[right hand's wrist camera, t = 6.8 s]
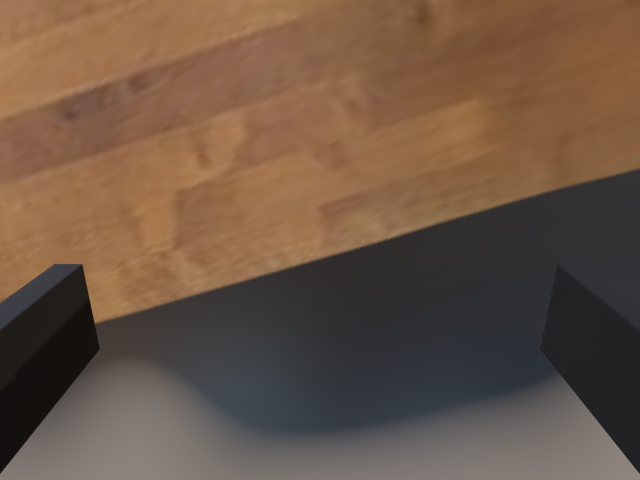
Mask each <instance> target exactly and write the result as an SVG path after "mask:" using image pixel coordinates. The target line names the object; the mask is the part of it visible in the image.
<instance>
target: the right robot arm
mask: <svg viewBox="0 0 640 480" xmlns="http://www.w3.org/2000/svg"><path fill="white" fill-rule="evenodd" d="M99 349H100V348H99V343H98V338H97V334H96V329H95V324H94V319H93V314H92V309H91V304H90V300H89V295H88V290H87V285H86V280H85V275H84V270H83V266H82V264H54V265H53V266H51V267H50V268H49V269H47V270H46V271H44V272H43V273H42V274H40V275H39V276H37V277H36V278H35V279H33V280H32V281H31V282H29V283H28V284H26V285H25V286H24V287H22V288H21V289H19V290H18V291H17V292H15V293H14V294H12V295H11V296H10V297H8V298H7V299H6V300H4V301H3V302H1V303H0V473H1V472H2V471H3V470H4V468H5V467H6V466H7V465H8V463H9V462H10V461H11V460H12V458H13V457H14V456H15V455H16V453H17V452H18V451H19V450H20V448H21V447H22V446H23V445H24V443H25V442H26V441H27V440H28V438H29V437H30V436H31V435H32V433H33V432H34V431H35V429H36V428H37V427H38V426H39V425H40V423H41V422H42V421H43V419H44V418H45V417H46V416H47V414H48V413H49V412H50V411H51V409H52V408H53V407H54V406H55V404H56V403H57V402H58V401H59V399H60V398H61V397H62V396H63V394H64V393H65V392H66V391H67V389H68V388H69V387H70V386H71V384H72V383H73V382H74V381H75V379H76V378H77V377H78V376H79V374H80V373H81V372H82V371H83V369H84V368H85V367H86V366H87V364H88V363H89V362H90V361H91V359H92V358H93V357H94V355H95V354H96V353H97V352H98V350H99ZM540 349H541V351H542V352H543V353H544V354H545V356H546V357H547V358H548V359H549V361H550V362H551V363H552V364H553V366H554V367H555V368H556V369H557V371H558V372H559V373H560V374H561V376H562V377H563V378H564V379H565V381H566V382H567V383H568V384H569V386H570V387H571V388H572V389H573V391H574V392H575V393H576V394H577V396H578V397H579V398H580V399H581V401H582V402H583V403H584V404H585V406H586V407H587V408H588V409H589V411H590V412H591V413H592V414H593V416H594V417H595V418H596V420H597V421H598V422H599V423H600V425H601V426H602V427H603V428H604V430H605V431H606V432H607V433H608V435H609V436H610V437H611V438H612V440H613V441H614V442H615V443H616V445H617V446H618V447H619V448H620V450H621V451H622V452H623V453H624V455H625V456H626V457H627V458H628V460H629V461H630V462H631V463H632V465H633V466H634V467H635V468H636V470H637V471H638V472H639V473H640V303H639V302H637V301H636V300H634V299H633V298H632V297H630V296H629V295H628V294H626V293H625V292H623V291H622V290H621V289H619V288H618V287H616V286H615V285H614V284H612V283H611V282H609V281H608V280H607V279H605V278H604V277H603V276H601V275H600V274H598V273H597V272H596V271H594V270H593V269H591V268H590V267H589V266H587V265H586V264H558V266H557V270H556V275H555V280H554V285H553V290H552V295H551V300H550V304H549V309H548V314H547V319H546V324H545V329H544V334H543V338H542V343H541V348H540Z"/></svg>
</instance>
